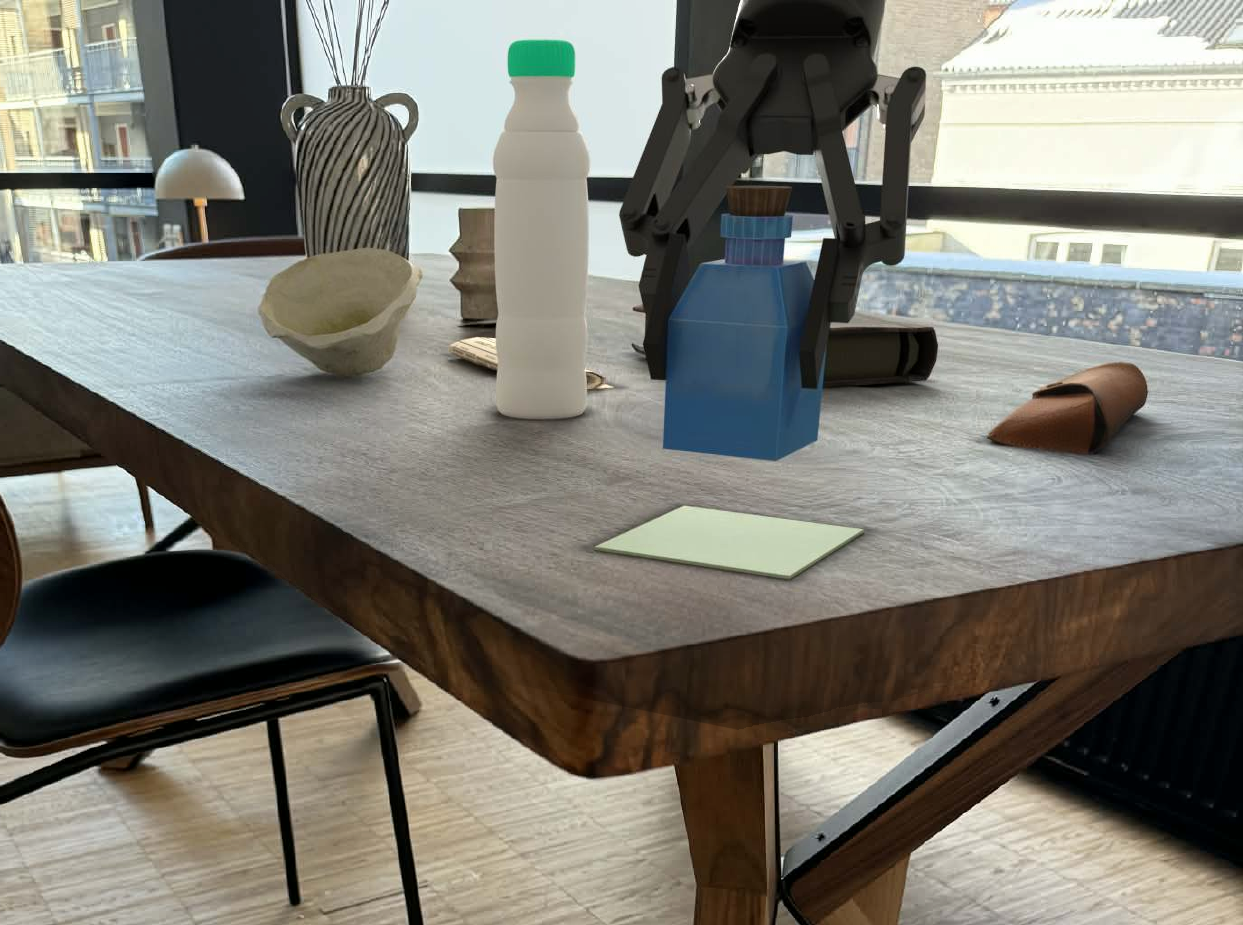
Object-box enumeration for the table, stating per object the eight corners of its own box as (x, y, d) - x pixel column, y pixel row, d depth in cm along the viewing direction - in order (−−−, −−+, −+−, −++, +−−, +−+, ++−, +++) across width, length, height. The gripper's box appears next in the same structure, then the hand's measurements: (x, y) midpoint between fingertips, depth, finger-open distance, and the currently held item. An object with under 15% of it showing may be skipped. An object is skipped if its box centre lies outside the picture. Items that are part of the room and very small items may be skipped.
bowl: (232, 379, 127) (219, 255, 122) (314, 359, 138) (305, 244, 134) (380, 390, 122) (374, 261, 117) (453, 368, 133) (449, 250, 128)
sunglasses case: (1033, 401, 115) (1090, 327, 111) (1102, 455, 114) (1163, 383, 110) (981, 440, 101) (1045, 357, 97) (1060, 501, 101) (1127, 420, 96)
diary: (787, 348, 147) (791, 295, 144) (934, 383, 127) (942, 322, 124) (623, 356, 141) (625, 301, 138) (750, 396, 120) (755, 331, 118)
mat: (863, 536, 79) (864, 529, 79) (789, 584, 71) (789, 576, 71) (683, 512, 84) (684, 505, 84) (594, 554, 76) (594, 546, 76)
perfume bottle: (776, 461, 71) (797, 191, 65) (662, 448, 74) (674, 187, 68) (817, 440, 76) (841, 186, 70) (709, 429, 79) (724, 183, 73)
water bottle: (515, 425, 108) (512, 36, 96) (483, 410, 114) (477, 41, 102) (600, 419, 110) (608, 39, 98) (565, 405, 116) (568, 43, 104)
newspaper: (449, 358, 139) (448, 338, 138) (516, 354, 142) (516, 335, 141) (540, 395, 120) (540, 372, 119) (617, 390, 123) (617, 368, 122)
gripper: (1003, 56, 76) (935, 426, 71) (643, 58, 82) (553, 403, 76) (1016, -77, 69) (941, 323, 64) (621, -65, 75) (520, 305, 69)
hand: (730, 366), depth 70 cm, fingers closed on perfume bottle, 7 cm apart
